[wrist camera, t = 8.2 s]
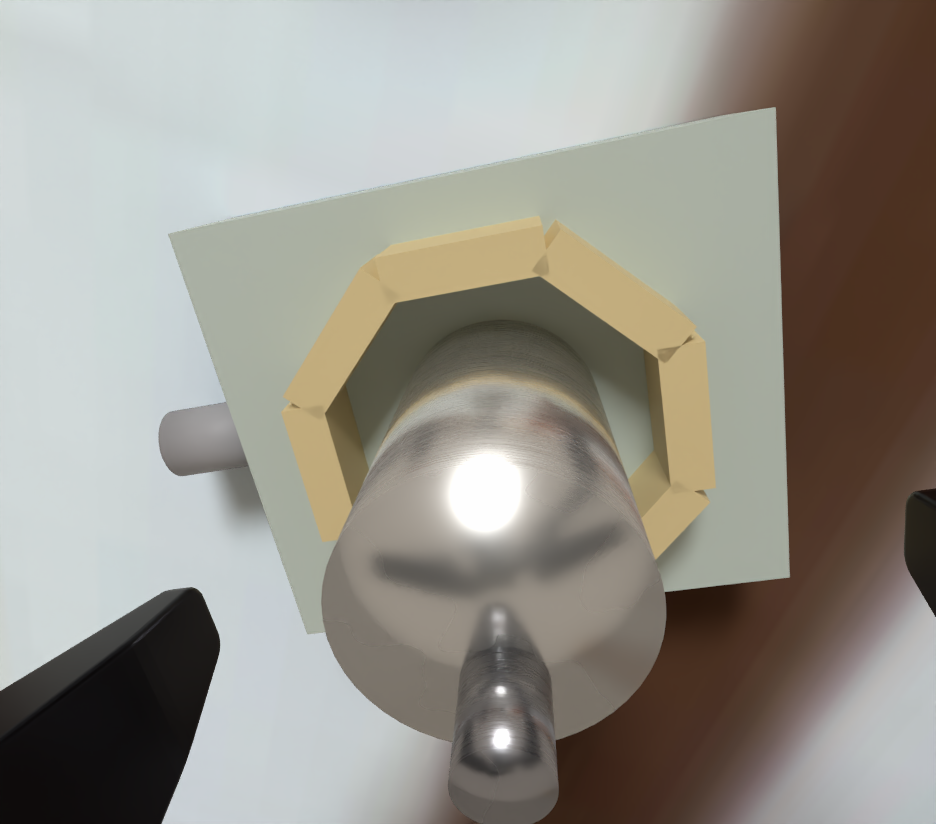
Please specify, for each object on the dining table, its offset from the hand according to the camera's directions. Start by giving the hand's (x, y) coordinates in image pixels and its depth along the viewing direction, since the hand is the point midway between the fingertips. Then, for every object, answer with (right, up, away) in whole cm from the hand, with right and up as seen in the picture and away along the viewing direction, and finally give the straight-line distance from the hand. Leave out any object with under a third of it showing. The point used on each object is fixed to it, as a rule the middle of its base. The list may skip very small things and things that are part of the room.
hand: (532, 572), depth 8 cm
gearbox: (-1, +3, +13) cm, 13 cm away
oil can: (0, +2, +9) cm, 9 cm away
